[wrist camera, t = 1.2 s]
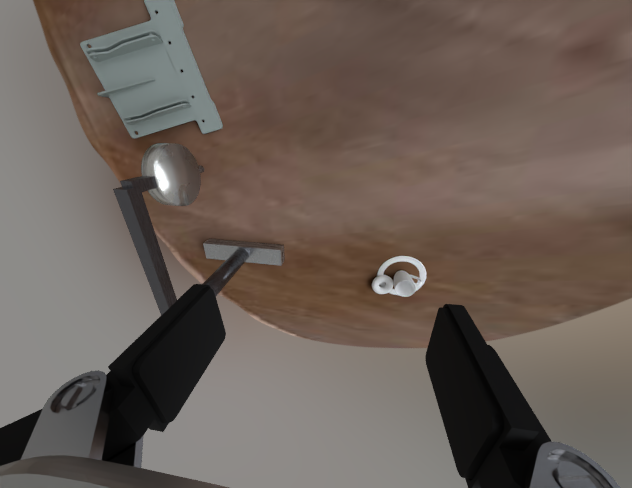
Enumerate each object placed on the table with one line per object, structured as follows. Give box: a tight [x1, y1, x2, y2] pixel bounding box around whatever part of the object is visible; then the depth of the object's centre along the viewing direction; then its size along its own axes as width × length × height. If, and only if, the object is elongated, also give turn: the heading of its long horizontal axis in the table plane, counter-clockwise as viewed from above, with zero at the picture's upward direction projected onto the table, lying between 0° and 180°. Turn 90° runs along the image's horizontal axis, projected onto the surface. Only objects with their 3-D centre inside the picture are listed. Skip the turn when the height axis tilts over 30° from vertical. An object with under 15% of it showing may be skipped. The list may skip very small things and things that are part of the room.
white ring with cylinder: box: [372, 256, 426, 297], centre depth 38 cm, size 9×8×4 cm
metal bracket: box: [80, 0, 223, 138], centre depth 31 cm, size 14×6×15 cm
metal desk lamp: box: [113, 143, 285, 315], centre depth 29 cm, size 20×14×19 cm
